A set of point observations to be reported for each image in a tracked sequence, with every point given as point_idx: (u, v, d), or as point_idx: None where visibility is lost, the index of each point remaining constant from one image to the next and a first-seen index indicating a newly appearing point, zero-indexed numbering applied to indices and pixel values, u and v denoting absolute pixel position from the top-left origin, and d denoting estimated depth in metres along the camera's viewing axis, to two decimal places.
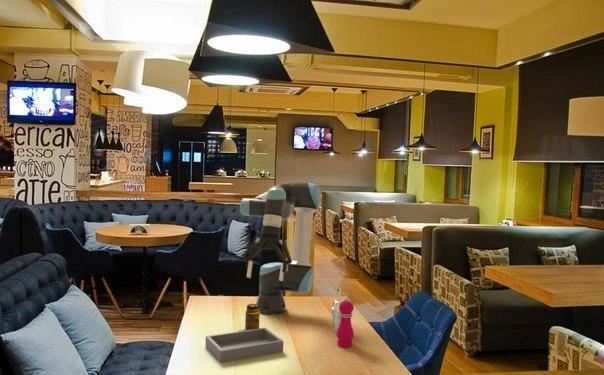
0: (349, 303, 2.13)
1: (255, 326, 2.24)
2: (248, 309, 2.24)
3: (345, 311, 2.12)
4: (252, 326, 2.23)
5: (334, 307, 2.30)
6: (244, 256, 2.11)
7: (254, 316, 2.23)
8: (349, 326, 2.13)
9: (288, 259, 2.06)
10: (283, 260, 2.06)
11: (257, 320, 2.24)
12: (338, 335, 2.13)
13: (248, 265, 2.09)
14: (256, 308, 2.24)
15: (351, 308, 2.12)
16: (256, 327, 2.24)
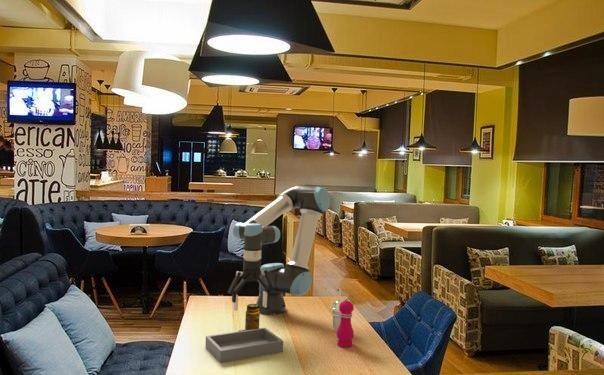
0: (349, 303, 2.13)
1: (255, 326, 2.24)
2: (248, 309, 2.24)
3: (345, 311, 2.12)
4: (252, 326, 2.23)
5: (334, 307, 2.30)
6: (231, 292, 2.19)
7: (254, 316, 2.23)
8: (349, 326, 2.13)
9: (271, 287, 2.28)
10: (267, 289, 2.27)
11: (257, 320, 2.24)
12: (338, 335, 2.13)
13: (236, 300, 2.20)
14: (256, 308, 2.24)
15: (351, 308, 2.12)
16: (256, 327, 2.24)
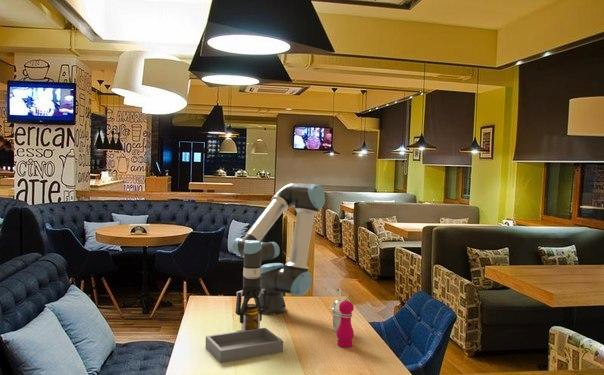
0: (349, 303, 2.13)
1: (254, 326, 2.24)
2: (246, 309, 2.24)
3: (345, 311, 2.12)
4: (250, 326, 2.23)
5: (334, 307, 2.30)
6: (239, 313, 2.22)
7: (253, 316, 2.23)
8: (349, 326, 2.13)
9: (264, 309, 2.28)
10: (260, 310, 2.27)
11: (255, 320, 2.24)
12: (338, 335, 2.13)
13: (244, 320, 2.23)
14: (254, 308, 2.24)
15: (351, 308, 2.12)
16: (255, 327, 2.24)
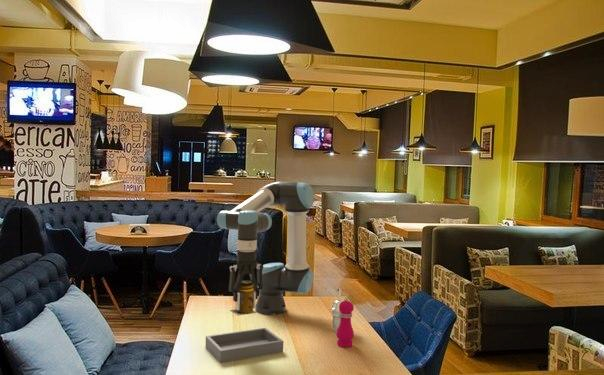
0: (349, 303, 2.13)
1: (249, 304, 2.02)
2: (241, 286, 2.02)
3: (345, 311, 2.12)
4: (245, 305, 2.02)
5: (334, 307, 2.30)
6: (232, 290, 2.01)
7: (248, 293, 2.02)
8: (349, 326, 2.13)
9: (261, 286, 2.06)
10: (256, 288, 2.06)
11: (251, 298, 2.03)
12: (338, 335, 2.13)
13: (238, 298, 2.02)
14: (250, 285, 2.03)
15: (351, 308, 2.12)
16: (250, 306, 2.03)
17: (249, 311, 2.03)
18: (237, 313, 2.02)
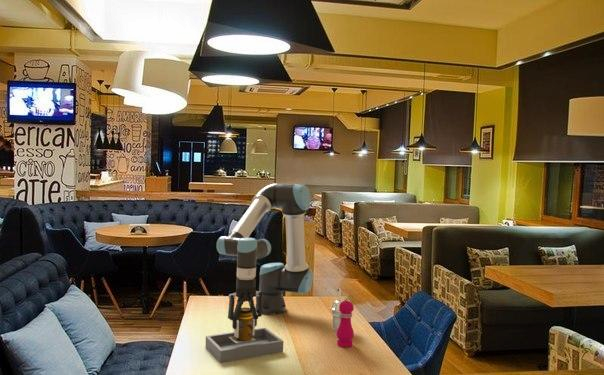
0: (349, 303, 2.13)
1: (248, 332, 2.03)
2: (240, 313, 2.03)
3: (345, 311, 2.12)
4: (244, 332, 2.02)
5: (334, 307, 2.30)
6: (231, 318, 2.01)
7: (247, 321, 2.02)
8: (349, 326, 2.13)
9: (260, 313, 2.07)
10: (255, 315, 2.06)
11: (250, 325, 2.04)
12: (338, 335, 2.13)
13: (237, 326, 2.03)
14: (249, 312, 2.03)
15: (351, 308, 2.12)
16: (249, 333, 2.03)
17: (248, 338, 2.03)
18: (236, 341, 2.02)
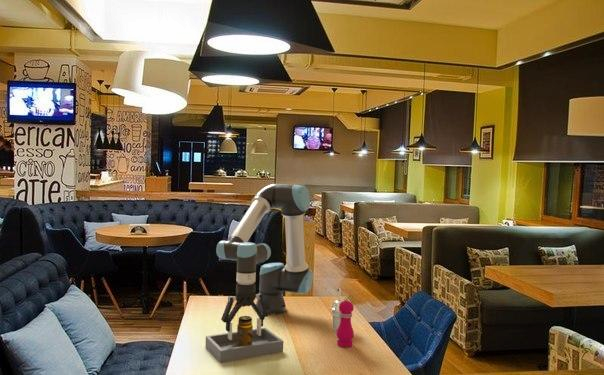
0: (349, 303, 2.13)
1: (248, 340, 2.03)
2: (240, 322, 2.03)
3: (345, 311, 2.12)
4: (244, 341, 2.03)
5: (334, 307, 2.30)
6: (225, 320, 2.00)
7: (247, 330, 2.03)
8: (349, 326, 2.13)
9: (266, 314, 2.08)
10: (261, 316, 2.07)
11: (250, 334, 2.04)
12: (338, 335, 2.13)
13: (230, 328, 2.01)
14: (249, 321, 2.04)
15: (351, 308, 2.12)
16: (249, 342, 2.04)
17: None
18: None
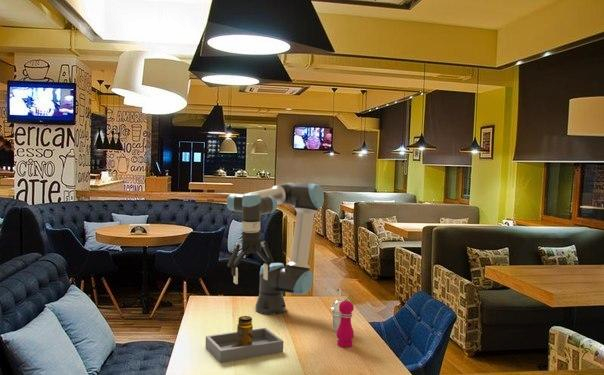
0: (349, 303, 2.13)
1: (248, 340, 2.03)
2: (240, 322, 2.03)
3: (345, 311, 2.12)
4: (244, 341, 2.03)
5: (334, 307, 2.30)
6: (231, 265, 2.12)
7: (247, 330, 2.03)
8: (349, 326, 2.13)
9: (272, 259, 2.21)
10: (267, 261, 2.20)
11: (250, 334, 2.04)
12: (338, 335, 2.13)
13: (236, 273, 2.13)
14: (249, 321, 2.04)
15: (351, 308, 2.12)
16: (249, 342, 2.04)
17: None
18: None
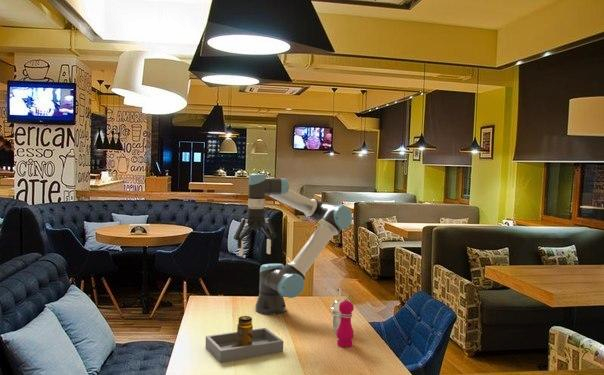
0: (349, 303, 2.13)
1: (248, 340, 2.03)
2: (240, 322, 2.03)
3: (345, 311, 2.12)
4: (244, 341, 2.03)
5: (334, 307, 2.30)
6: (237, 238, 2.31)
7: (247, 330, 2.03)
8: (349, 326, 2.13)
9: (274, 235, 2.40)
10: (270, 236, 2.39)
11: (250, 334, 2.04)
12: (338, 335, 2.13)
13: (241, 245, 2.32)
14: (249, 321, 2.04)
15: (351, 308, 2.12)
16: (249, 342, 2.04)
17: None
18: None
